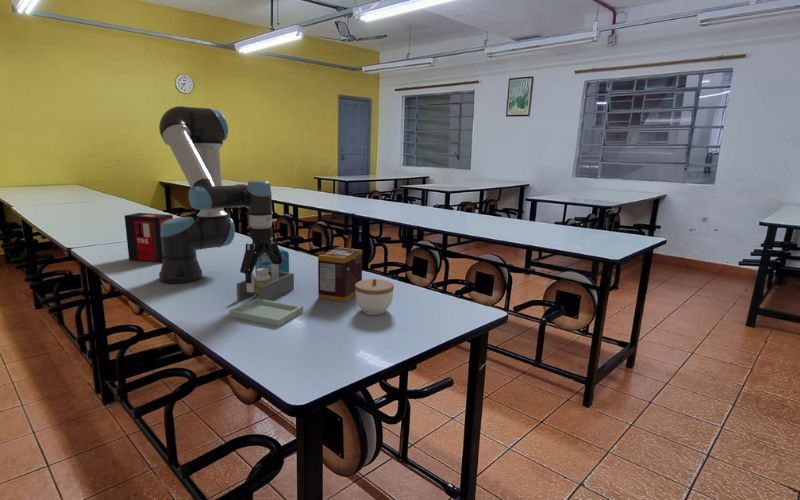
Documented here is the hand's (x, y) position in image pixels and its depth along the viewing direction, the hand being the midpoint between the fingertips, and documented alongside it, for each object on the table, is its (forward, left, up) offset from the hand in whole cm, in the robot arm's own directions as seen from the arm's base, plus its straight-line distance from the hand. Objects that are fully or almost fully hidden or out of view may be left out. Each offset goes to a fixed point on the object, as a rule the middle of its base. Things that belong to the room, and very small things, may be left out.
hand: (263, 286), depth 157 cm
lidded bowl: (+41, +4, -4) cm, 41 cm away
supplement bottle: (0, 0, -4) cm, 4 cm away
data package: (-8, +17, -4) cm, 19 cm away
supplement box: (+23, +15, -4) cm, 27 cm away
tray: (+12, -14, -4) cm, 18 cm away
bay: (0, +3, -4) cm, 4 cm away
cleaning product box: (-74, +20, -4) cm, 77 cm away
